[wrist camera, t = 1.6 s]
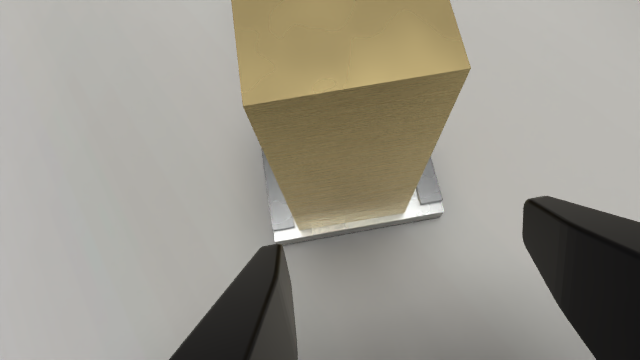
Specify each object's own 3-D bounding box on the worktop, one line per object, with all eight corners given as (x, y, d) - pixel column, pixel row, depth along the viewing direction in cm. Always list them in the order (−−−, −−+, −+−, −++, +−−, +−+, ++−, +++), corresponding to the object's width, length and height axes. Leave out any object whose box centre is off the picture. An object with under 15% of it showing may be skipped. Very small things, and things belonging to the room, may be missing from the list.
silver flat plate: (439, 217, 22) (445, 210, 21) (278, 245, 22) (274, 240, 21) (375, -23, 27) (377, -40, 26) (244, 1, 27) (239, -15, 26)
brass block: (404, 213, 21) (471, 68, 10) (299, 230, 21) (242, 106, 10) (379, 101, 23) (410, -127, 12) (282, 117, 23) (220, -95, 12)
